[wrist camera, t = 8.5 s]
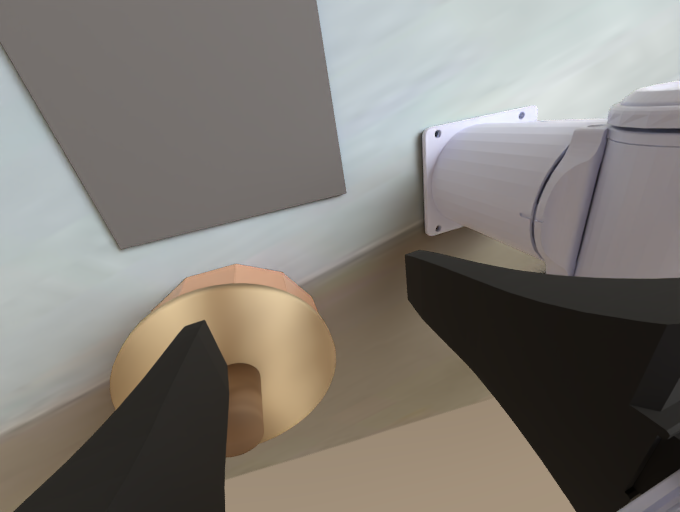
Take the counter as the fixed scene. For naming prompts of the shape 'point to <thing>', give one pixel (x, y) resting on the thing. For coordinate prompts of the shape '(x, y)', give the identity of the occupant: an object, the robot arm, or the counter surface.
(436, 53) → the counter surface
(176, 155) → the mat
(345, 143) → the counter surface
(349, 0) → the counter surface
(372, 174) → the counter surface
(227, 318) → the lid
